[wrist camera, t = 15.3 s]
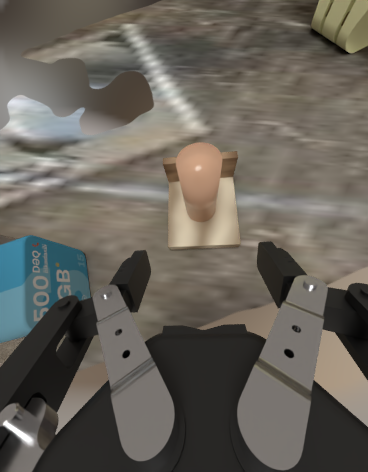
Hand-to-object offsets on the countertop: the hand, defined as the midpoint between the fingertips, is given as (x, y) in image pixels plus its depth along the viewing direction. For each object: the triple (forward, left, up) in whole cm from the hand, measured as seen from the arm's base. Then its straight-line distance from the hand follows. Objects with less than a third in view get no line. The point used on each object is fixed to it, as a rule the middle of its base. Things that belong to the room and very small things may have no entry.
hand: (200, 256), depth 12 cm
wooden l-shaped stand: (0, +12, -18) cm, 21 cm away
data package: (-23, -1, -18) cm, 29 cm away
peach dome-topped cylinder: (0, +11, -16) cm, 19 cm away
